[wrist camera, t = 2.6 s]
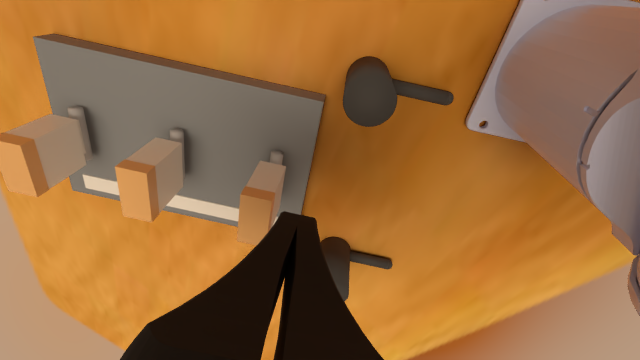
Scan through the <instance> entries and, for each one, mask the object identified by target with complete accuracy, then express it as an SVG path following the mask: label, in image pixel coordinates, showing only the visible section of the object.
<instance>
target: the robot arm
mask: <svg viewBox="0 0 640 360" xmlns="http://www.w3.org/2000/svg"><path fill="white" fill-rule="evenodd" d="M482 121H486V124H485V125H484V126H482V127H479V124H480V123H481V122H482ZM465 123H466V126H467V127H468V128H469V129H470V130H473V131H477V132H481V133H486V134H490V135H495V136H499V137H504V138H508V139H513V140H517V141H521V142H526V143H527V144H529V145H530V146H531V147H532V148H533V149H534V150H535V151H536V152H537V153H538V154H539V155H540V156H541V157H543V158H544V159H545V160H546V161H547V162H548V163H549V164H550V165H551V166H552V167H553V168H554V169H556V170H557V171H558V172H559V173H560V174H561V175H562V176H563V177H564V178H565V179H566V180H567V181H569V182H570V183H571V184H572V185H573V186H574V187H575V188H576V189H577V190H578V191H579V192H580V193H582V194H583V195H584V196H585V197H586V198H587V199H588V200H589V201H590V202H591V203H592V204H593V205H594V206H595V207H597V208H598V209H599V210H600V211H601V212H602V213H603V214H604V215H605V216H606V217H607V218H608V219H610V221H611V224H612V234H613V235H614V236H615V237H616V238H617V239H618V240H619V241H620V242H621V243H622V244H623V245H624V246H625V247H626V248H627V249H628V250H629V251H630V252H631V253H632V254H633V255H638V254H639V255H638V256H637V257H636V258H635V259H634V260H633V262H632V266H631V269H630V272H629V275H628V290H629V294H630V297H631V301H632V303H633V305H634V307H635V309H636V311H637V312H638V314H639V316H640V3H638V2H633V1H629V0H520V3H519V5H518V7H517V9H516V11H515V14H514V16H513V18H512V20H511V22H510V24H509V27H508V29H507V31H506V33H505V35H504V38H503V40H502V42H501V44H500V46H499V48H498V51H497V53H496V55H495V57H494V59H493V62H492V64H491V66H490V68H489V70H488V72H487V75H486V77H485V79H484V81H483V83H482V86H481V88H480V90H479V92H478V94H477V96H476V99H475V101H474V103H473V105H472V107H471V110H470V112H469V114H468V116H467V118H466V122H465ZM284 278H285V281H284ZM283 281H284V290H283V299H282V308H281V317H280V326H279V333H278V340H277V345H276V350H275V355H274V360H384V359H383V358H382V357H381V356H380V354H379V353H378V352H377V351H376V350H375V348H374V347H373V346H372V344H371V343H370V341H369V340H368V339H367V337H366V336H365V334H364V333H363V332H362V330H361V328H360V327H359V325H358V324H357V322H356V321H355V319H354V317H353V316H352V314H351V313H350V311H349V309H348V308H347V306H346V304H345V302H344V300H343V298H342V297H341V295H340V293H339V291H338V289H337V286H336V284H335V282H334V280H333V277H332V275H331V272H330V270H329V267H328V265H327V262H326V259H325V256H324V253H323V250H322V246H321V243H320V239H319V234H318V229H317V221H316V219H315V218H313V217H308V216H304V215H299V214H294V213H290V212H285V211H283V212H281V213H280V215H279V217H278V219H277V220H276V222H275V224H274V225H273V226H272V228H271V229H270V230H269V232H268V233H267V234H266V235H265V237H264V238H263V239H262V240H261V241H260V242H259V244H258V245H257V246H256V247H255V248H254V249H253V250H252V251H251V252H250V253H249V254H248V255H247V256H246V257H245V258H244V259H243V260H242V261H241V262H240V263H239V264H238V265H236V266H235V267H234V268H233V269H232V270H231V271H230V272H228V273H227V274H226V275H225V276H223V277H222V278H221V279H219V280H218V281H217V282H216V283H214V284H213V285H211V286H210V287H209V288H207V289H206V290H204V291H203V292H201V293H200V294H198V295H197V296H195V297H194V298H192V299H190V300H189V301H187V302H186V303H184V304H183V305H181V306H179V307H177V308H176V309H174V310H172V311H170V312H168V313H166V314H165V315H163V316H161V317H159V318H157V319H155V320H154V321H152V322H150V323H148V324H147V325H146V326H145V327H144V329H143V330H142V331H141V332H140V333H139V334H138V336H137V337H136V338H135V339H134V341H133V342H132V343H131V344H130V346H129V347H128V348H127V350H126V351H125V353H124V354H123V356H122V357H121V359H120V360H261V356H262V351H263V347H264V342H265V338H266V335H267V331H268V327H269V324H270V321H271V318H272V315H273V312H274V309H275V306H276V303H277V300H278V296H279V293H280V290H281V287H282V284H283Z"/></svg>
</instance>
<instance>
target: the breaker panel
mask: <svg viewBox="0 0 640 360" xmlns="http://www.w3.org/2000/svg"><path fill="white" fill-rule="evenodd" d="M33 39H34V43H35V46H36V50H37V54H38V58H39V62H40V66H41V70H42V74H43V77H44V81H45V85H46V89H47V93H48V97H49V101H50V105H51V108H52V112H53V115H58V116H62V117H67V118H69V114H68V109H67V108H68V107H70V106H81V107H83V110H84V115H85V120H86V125H87V130H88V135H89V140H90V144H91V149H92V154H93V159H91V160H89V161H86V165H85V166H84V167H82V168H81V169H79V170H78V171H76V172H75V173H73V174H72V175H70V176H69V178H70V182H71V186H72V190H74V191H78V192H83V193H87V194H92V195H96V196H101V197H105V198H110V199H114V200H119V201H120V195H119V189H118V183H117V177H116V171H115V166H116V165H118V164H119V163H120V162H122V161H123V160H124V159H127V158H128V157H130V156H131V155H132V154H134V153H135V152H136V151H138V150H139V149H140V148H142V147H143V146H145V145H146V144H147V143H149V142H150V141H151V140H153V139H154V138H155V137H157V138H161V139H166V140H170V129H173V128H179V129H182V130H183V133H184V162H185V180H184V181H183V187H182V188H181V189H180V190H179V192H178V193H177V194H176V195H175V196H174V197H173V198H172V199H171V201H170V202H169V203H168V204H167V205H166V206H165V207H164V208H163V210H164V211H169V212H173V213H178V214H183V215H187V216H192V217H196V218H201V219H205V220H210V221H214V222H219V223H223V224H228V225H233V226H237V227H238V219H239V206H240V194H241V192H242V191H243V189H244V187H245V186H246V185H247V183H248V181H249V179H250V178H251V176H252V174H253V173H254V171H255V169H256V167H257V166H258V164H259V162H260V161H265V162H269V163H270V155H271V151H273V150H278V151H281V152H283V161H282V165H283V166H286V170H285V176H284V182H283V189H282V195H281V201H280V208H279V210H278V213H277V216H276V219H275V221H274V224H275V222H276V220H277V219H278V217H279V215H280V213H281V212H283V211H285V212H290V213H294V214H299V215H301V213H302V208H303V203H304V198H305V193H306V188H307V184H308V179H309V174H310V169H311V164H312V159H313V154H314V149H315V145H316V140H317V135H318V130H319V125H320V120H321V115H322V111H323V106H324V101H325V96H326V95H324V94H320V93H315V92H311V91H307V90H302V89H298V88H293V87H289V86H284V85H280V84H275V83H271V82H266V81H262V80H258V79H253V78H249V77H244V76H240V75H235V74H231V73H226V72H222V71H218V70H213V69H209V68H204V67H200V66H195V65H191V64H186V63H182V62H177V61H173V60H169V59H164V58H160V57H155V56H151V55H146V54H142V53H137V52H133V51H129V50H124V49H120V48H115V47H111V46H106V45H102V44H97V43H93V42H88V41H84V40H80V39H75V38H71V37H66V36H62V35H57V34H49V35H42V36H35V37H33ZM274 224H273V225H274Z"/></svg>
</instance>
